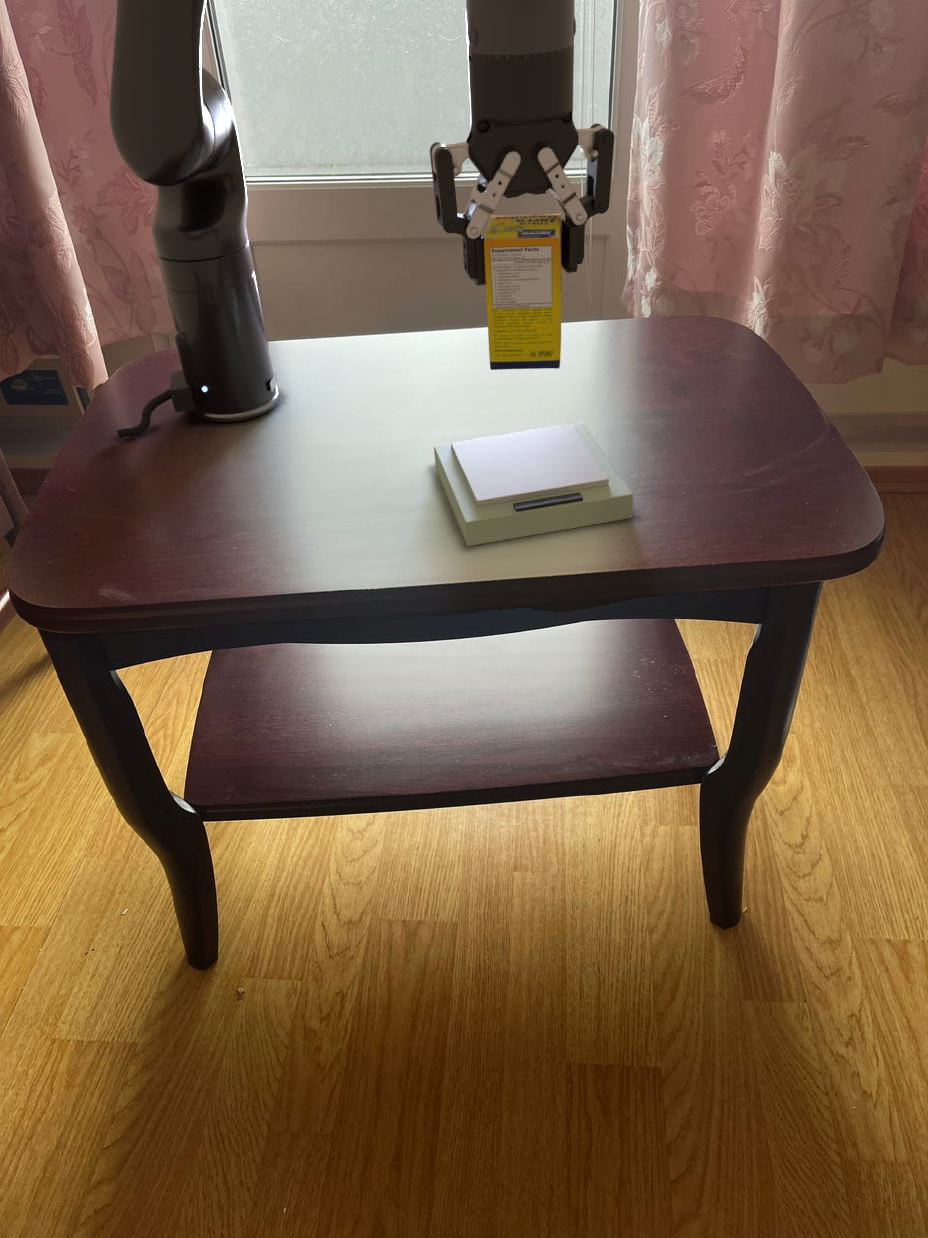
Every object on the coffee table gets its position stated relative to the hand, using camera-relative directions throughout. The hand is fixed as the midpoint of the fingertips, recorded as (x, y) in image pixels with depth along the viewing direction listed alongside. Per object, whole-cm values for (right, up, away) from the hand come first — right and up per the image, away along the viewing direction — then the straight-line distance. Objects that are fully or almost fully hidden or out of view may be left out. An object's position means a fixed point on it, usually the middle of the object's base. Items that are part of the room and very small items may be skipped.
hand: (524, 275), depth 77 cm
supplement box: (0, -6, +4) cm, 7 cm away
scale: (+1, -16, +11) cm, 20 cm away
